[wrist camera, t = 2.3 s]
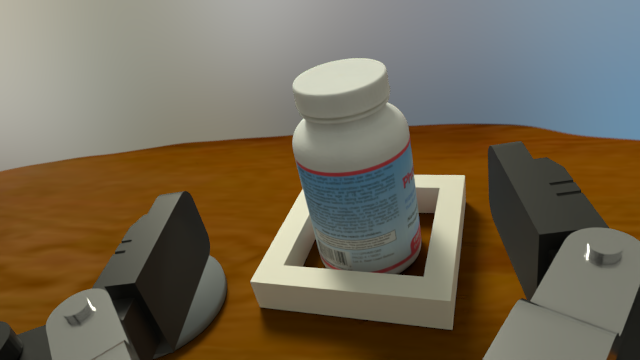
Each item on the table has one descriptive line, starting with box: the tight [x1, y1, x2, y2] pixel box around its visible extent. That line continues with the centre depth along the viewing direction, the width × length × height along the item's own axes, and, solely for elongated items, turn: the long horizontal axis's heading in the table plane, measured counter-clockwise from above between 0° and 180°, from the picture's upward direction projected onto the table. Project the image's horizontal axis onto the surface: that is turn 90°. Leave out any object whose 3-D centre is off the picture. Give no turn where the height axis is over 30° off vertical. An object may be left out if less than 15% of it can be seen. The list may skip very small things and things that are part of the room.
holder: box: [250, 175, 466, 330], centre depth 28 cm, size 10×10×2 cm
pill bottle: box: [292, 58, 421, 275], centre depth 26 cm, size 6×6×11 cm
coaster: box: [153, 255, 227, 359], centre depth 28 cm, size 8×8×1 cm
